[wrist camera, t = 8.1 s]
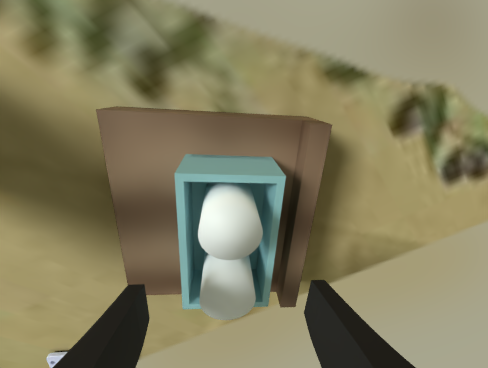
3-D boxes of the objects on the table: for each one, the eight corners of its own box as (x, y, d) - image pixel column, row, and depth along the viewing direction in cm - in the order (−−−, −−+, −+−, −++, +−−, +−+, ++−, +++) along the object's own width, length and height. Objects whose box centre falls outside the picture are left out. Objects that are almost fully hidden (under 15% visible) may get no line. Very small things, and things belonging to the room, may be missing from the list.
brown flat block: (282, 269, 21) (295, 306, 18) (140, 272, 20) (121, 312, 16) (307, 116, 16) (332, 124, 12) (115, 106, 15) (80, 112, 11)
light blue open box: (259, 267, 18) (272, 328, 13) (190, 268, 17) (178, 333, 13) (271, 157, 14) (294, 188, 10) (185, 154, 14) (167, 185, 9)
